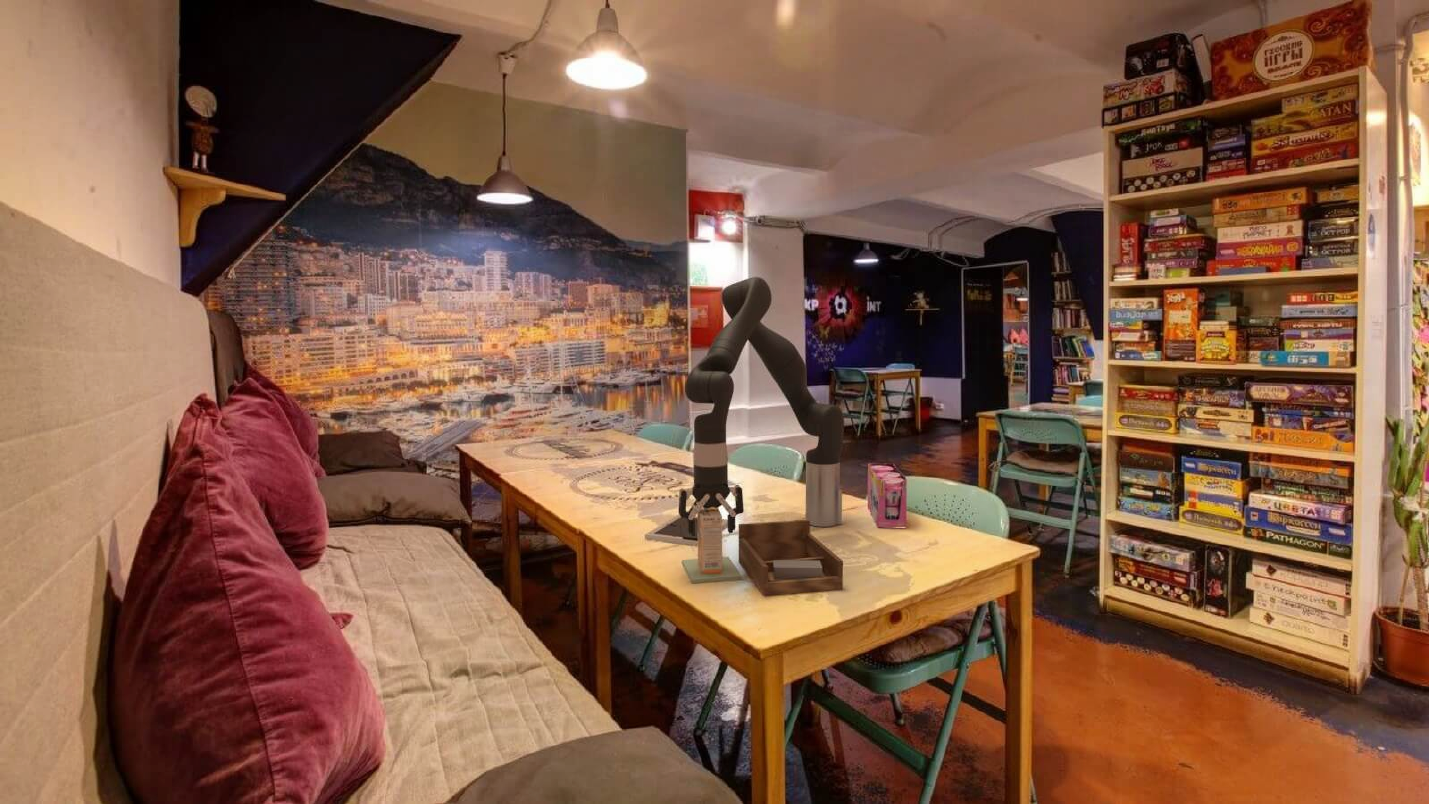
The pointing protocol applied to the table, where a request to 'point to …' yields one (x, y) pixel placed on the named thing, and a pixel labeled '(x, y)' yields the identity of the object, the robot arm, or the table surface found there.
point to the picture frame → (677, 531)
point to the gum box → (887, 495)
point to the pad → (727, 573)
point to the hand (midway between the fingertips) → (711, 533)
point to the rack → (786, 556)
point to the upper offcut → (796, 569)
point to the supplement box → (710, 540)
